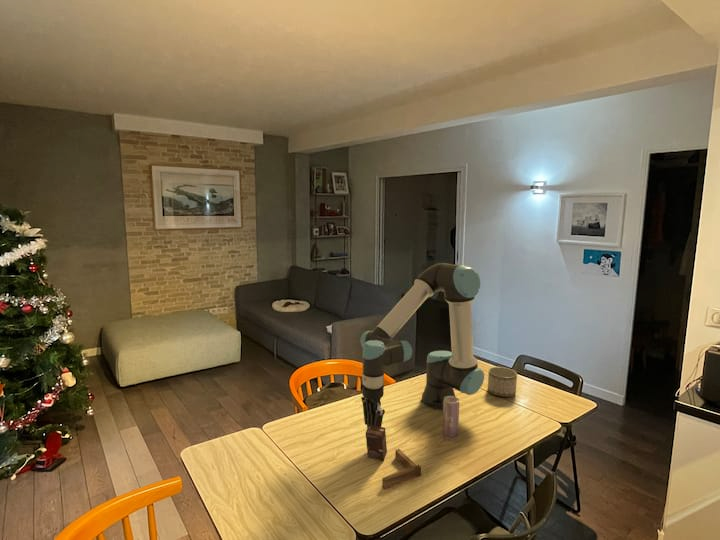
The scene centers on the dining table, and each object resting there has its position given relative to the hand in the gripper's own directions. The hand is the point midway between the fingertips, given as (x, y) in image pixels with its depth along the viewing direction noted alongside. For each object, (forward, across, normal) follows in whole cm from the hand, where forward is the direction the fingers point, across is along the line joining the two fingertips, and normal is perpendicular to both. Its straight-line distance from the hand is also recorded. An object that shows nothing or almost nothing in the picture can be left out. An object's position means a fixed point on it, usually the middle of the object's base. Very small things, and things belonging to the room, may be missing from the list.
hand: (372, 446), depth 147 cm
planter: (+2, -12, +77) cm, 78 cm away
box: (+1, +4, 0) cm, 4 cm away
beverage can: (+2, +6, +31) cm, 32 cm away
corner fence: (+2, +14, 0) cm, 14 cm away
